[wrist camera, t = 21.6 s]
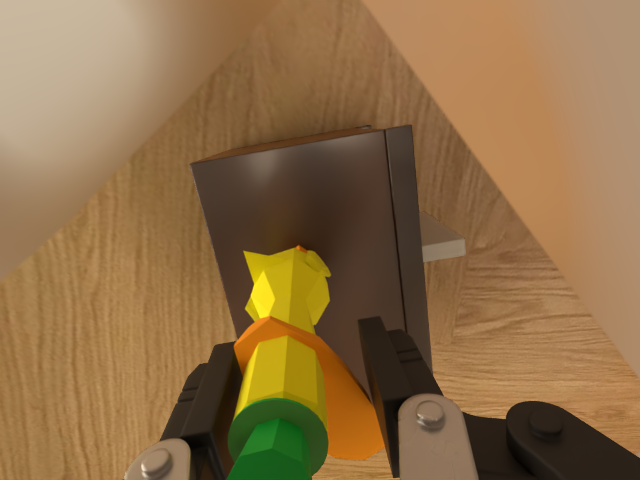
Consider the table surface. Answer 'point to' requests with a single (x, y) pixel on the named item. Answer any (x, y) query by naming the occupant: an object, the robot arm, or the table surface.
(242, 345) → the toy figure
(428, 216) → the door
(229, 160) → the cupboard
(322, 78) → the table surface
